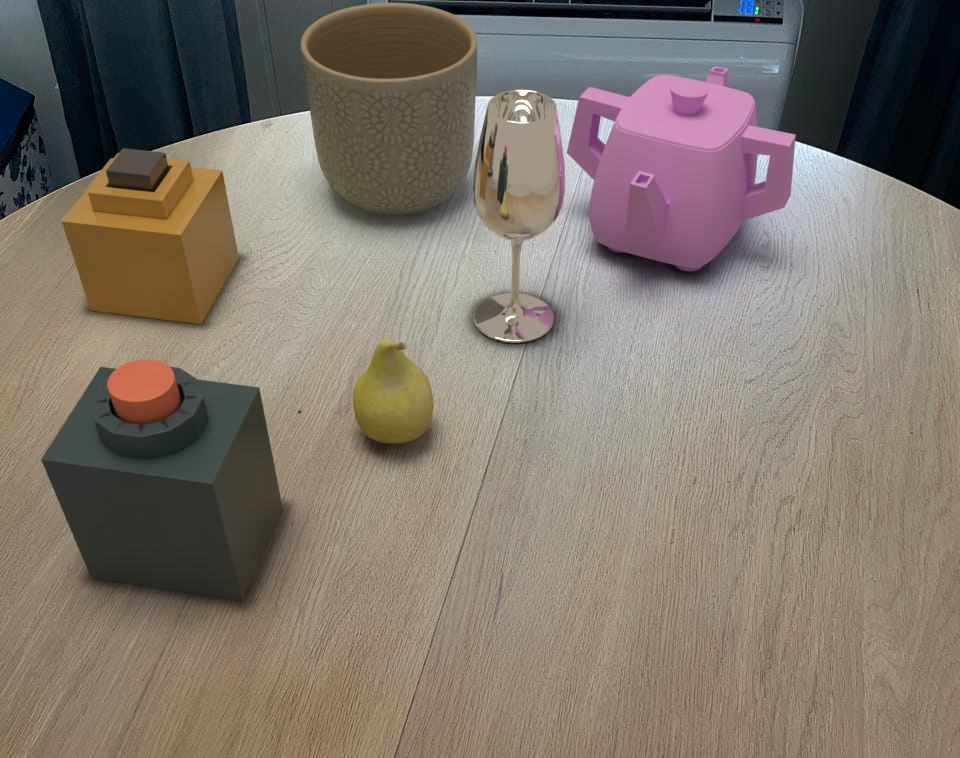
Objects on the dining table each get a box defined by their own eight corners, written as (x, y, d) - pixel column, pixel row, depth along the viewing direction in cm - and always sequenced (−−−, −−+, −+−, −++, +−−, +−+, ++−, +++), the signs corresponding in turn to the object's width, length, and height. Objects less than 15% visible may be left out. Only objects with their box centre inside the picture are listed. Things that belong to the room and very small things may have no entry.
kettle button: (110, 189, 95) (105, 170, 94) (127, 166, 97) (122, 147, 96) (153, 194, 95) (148, 175, 93) (169, 171, 97) (165, 152, 96)
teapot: (704, 174, 118) (730, 27, 106) (794, 263, 107) (834, 111, 95) (543, 209, 113) (552, 60, 101) (621, 305, 103) (641, 152, 91)
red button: (104, 421, 72) (96, 396, 70) (129, 379, 74) (122, 355, 73) (167, 429, 71) (160, 405, 70) (190, 387, 74) (184, 363, 72)
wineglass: (455, 317, 101) (452, 103, 86) (515, 284, 105) (523, 73, 89) (511, 356, 98) (520, 140, 82) (572, 321, 101) (591, 108, 85)
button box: (90, 577, 81) (30, 436, 70) (140, 486, 87) (92, 343, 76) (242, 601, 80) (206, 461, 69) (282, 507, 86) (255, 364, 75)
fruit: (418, 399, 94) (412, 279, 85) (449, 453, 90) (447, 333, 80) (345, 418, 92) (331, 297, 83) (374, 474, 88) (362, 354, 79)
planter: (308, 232, 110) (288, 78, 98) (328, 148, 120) (312, -1, 108) (473, 236, 110) (473, 82, 98) (479, 152, 120) (480, 3, 108)
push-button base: (90, 310, 102) (55, 202, 93) (134, 246, 108) (105, 139, 100) (201, 324, 100) (176, 215, 92) (239, 258, 107) (218, 151, 98)
